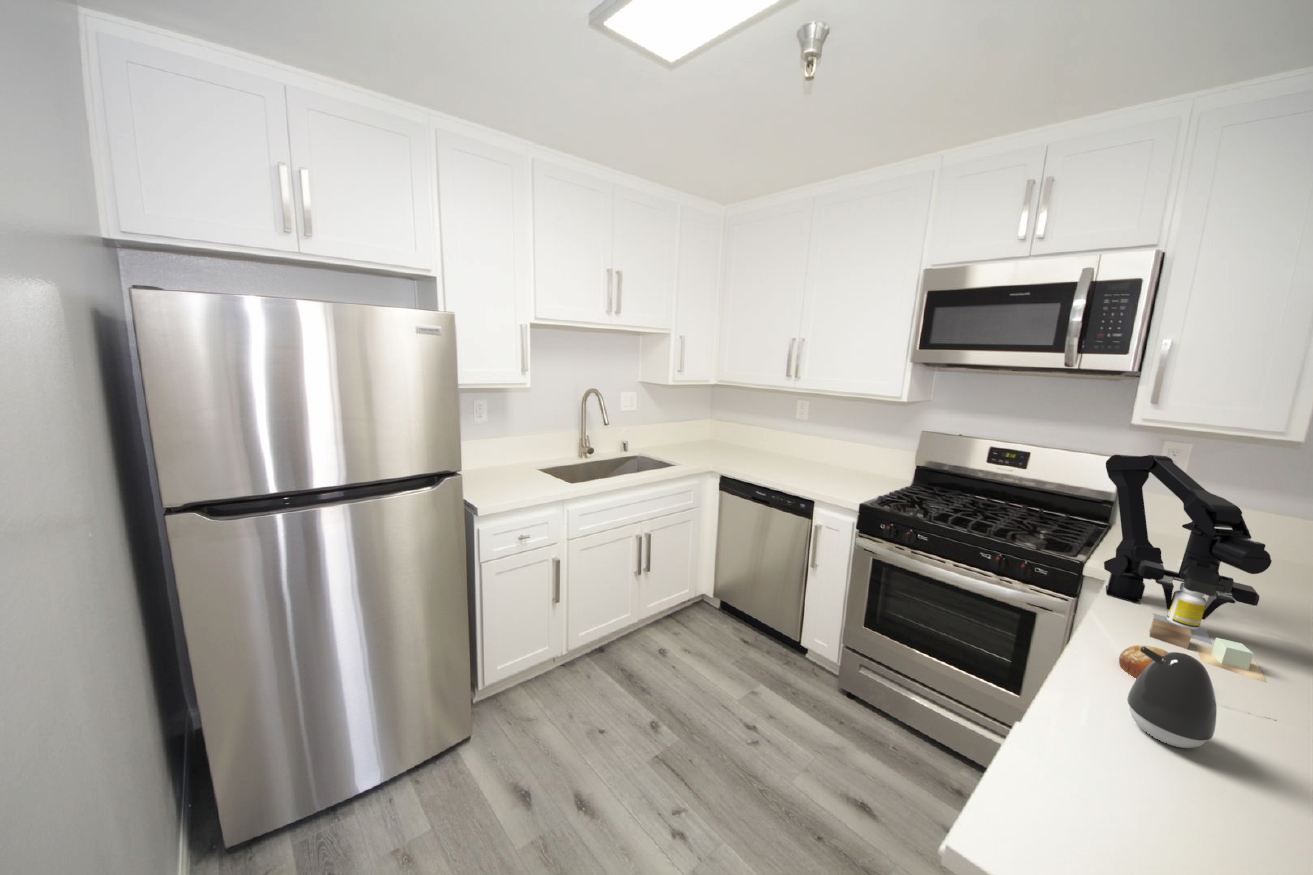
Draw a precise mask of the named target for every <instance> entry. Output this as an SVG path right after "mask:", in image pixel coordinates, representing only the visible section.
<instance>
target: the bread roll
mask: <svg viewBox="0 0 1313 875" xmlns="http://www.w3.org/2000/svg"><path fill="white" fill-rule="evenodd" d="M1141 647H1146V648H1148V649H1150V650H1151V651H1153V652H1155V653H1157V654H1159V655H1161V656H1162V655H1165V654H1167V653H1170V652H1169V651H1167V650H1164V649H1163V648H1159V647H1156V646H1150V645H1140V644H1139V645H1132V646H1129V647H1128V648H1125V649H1124V650H1123V651H1122V652H1120V654H1119V658H1118V662H1119V666H1120V669H1121V670H1122V669H1123V670H1124V672H1125V673H1126V672H1127V673H1128V674H1127V673H1126V674H1127V675H1129V674H1130V675H1131V676H1133V677H1134V678H1136V679H1137V678H1138V676H1139V675H1140V674H1141V672H1142V671H1143V670H1144V669H1145V668H1146V667H1147V666H1148V665H1149V664H1150V663H1152V662H1153V660H1152V659H1151V658H1149V657H1148V656H1146V655H1145V654H1144V653H1142V652H1141V651H1140V648H1141ZM1130 675H1129V676H1130ZM1131 676H1130V677H1131ZM1133 677H1132V678H1133ZM1134 678H1133V679H1134Z"/></svg>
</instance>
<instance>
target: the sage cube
mask: <svg viewBox="0 0 1313 875" xmlns="http://www.w3.org/2000/svg"><path fill="white" fill-rule="evenodd" d="M1212 645H1213V646H1212V648H1211V649H1212V652H1211V654H1212V655H1213V656H1214V657H1215V658H1216V659H1217V660H1218V661H1219V662H1220V663H1221V664H1223V665H1227V666H1231V667H1235V668H1239V669H1243V670H1248V669H1249V666H1250V663H1251V661H1253V658H1254V652H1252V650H1250V649H1249V648H1248V647H1246V645H1244V644H1243V643H1241V642H1237V641H1232V640H1228V639H1224V638H1220V637H1215V639H1214V642H1213V644H1212Z"/></svg>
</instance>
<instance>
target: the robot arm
mask: <svg viewBox="0 0 1313 875" xmlns="http://www.w3.org/2000/svg"><path fill="white" fill-rule="evenodd" d="M1105 469H1106V472H1107V476H1108V479H1110V481H1111V482H1112V483H1113V485H1114V486H1115V487H1116V492H1117V498H1118V499H1117V500H1118V508H1119V509H1118V510H1119V517H1120V526H1121V527H1120V528H1121V536H1122V538H1121V539H1122V540H1121V541H1120V542H1119V544H1118V546H1117V547H1116V548H1115V556H1114V557H1112V558H1109V559H1107V560H1105V561H1104V562H1103V569H1104V571H1106V572H1108V573H1109V577H1108V581H1107V585H1105V594H1106V595H1108V596H1112V597H1115V598H1118V599H1120V600H1121V599H1122V600H1125V601H1127V602H1132V603H1135V604H1140V601H1142V599H1143V595H1144V592H1145V589H1146V588H1145V587H1146V585H1145V582H1144V580H1151V581H1152V580H1154V581H1155V583H1156V584H1158V585H1161V587H1162V590H1163V595H1164V601H1165V608H1166V610H1169V609H1170V606H1171V601H1172V597H1173V592H1174V588H1175V587H1174V584H1173V583H1174V582H1173V581H1177V582H1181V583H1184V587H1185V588H1186V589H1187V590H1189V591H1196V592H1199V593H1203V594H1204V595H1206V596H1208V598H1207V600H1206V607H1205V610H1204V613H1203V616H1202V620H1201V621H1205V620H1206V619H1207V618H1208V617H1209V616H1210V615H1211V614H1213V612H1215V610H1217V609H1218V608H1219V607H1221V606H1223V605H1224V604H1228V603H1229V604H1235V603H1236V602H1239V603H1242V604H1247V605H1249V606H1254V607H1255V606H1256V607H1257V606H1258V603H1259V601H1260V595H1259V593H1258V592H1257V591H1256V589H1255V588H1254V587H1253V586H1251V585H1249V584H1243V583H1239V582H1235V581H1234V578H1232V577H1229V576H1224V575H1220V572H1219V570H1220V566H1221V563H1224V564H1226V565H1228V566H1231V567H1233V568H1235V569H1238V570H1240V571H1243V572H1245V573H1247V574H1249V575H1259V574H1262V573H1264V572H1265V571H1266V570H1268V569H1269V567H1270V566H1271V565H1272V562H1273V561H1272V559H1271V555H1270V554H1271V553H1269V552H1268V550H1266V549H1265V548H1266V544H1265V543H1263V542H1260V541H1254V540H1251V539H1252V535H1251V533H1250V529H1248V526H1247V524H1246V522H1245V518H1244V517H1243V511H1242V509H1241V508H1240V507H1239V506H1238V505H1236V504H1235V503H1232V502H1231V501H1229V500H1227V498H1224V497H1222V496H1219V495H1217V494H1213V493H1211V492H1209V491H1208V490H1206V489H1205V488H1204V487H1203V486H1201V484H1199V483H1198V482H1197V481H1195V480H1194V479H1193V478H1192V477H1191V476H1190V475H1188V473H1186V472H1185V471H1184V470H1183V469H1181V468H1180V467H1179V466H1178V465H1177V464H1176V463H1174V460H1173V459H1172V458H1171V457H1169V456H1167V455H1158V454H1157V455H1156V454H1148V455H1147V454H1146V455H1140V456H1139V455H1128V454H1127V455H1125V454H1113V455H1111V456H1110V457H1109V458H1108V459H1107V460H1106V461H1105ZM1150 473H1151V474H1152V476H1154V477H1155V478H1156V479H1157V480H1158V481H1160V483H1161V484H1163V485H1164V486H1165V487H1166V488H1167V489H1168V490H1169V491H1170V492H1171V493H1173V495H1175V496H1176V497H1177V498H1178V499H1180V501H1181V502H1182V504H1183V511H1184V513H1186V515H1187V516H1188V518H1189V519H1190V520H1191V522H1188V523H1185V524H1184V523H1183V524H1182V525H1181V527H1182V528H1183V529H1186V530H1188V531H1190V534H1189V536H1188V539H1187V540H1188V541H1187V543H1186V547H1185V550H1184V554H1183V556H1182V561H1181V564H1180V566H1179V570H1178V572H1177V571H1173V570H1168V569H1165V567H1164V561H1163V559H1162V558H1163V557H1162V549H1161V548H1160V547H1157V546H1155V547H1154V546H1153V544H1152V543H1151V542H1150V540H1149V535H1148V534H1149V533H1148V526H1147V525H1148V524H1147V518H1146V517H1147V516H1146V509H1145V502H1144V492H1143V487H1144V485H1145V484H1146V482H1147V480H1148V479H1149V478H1150Z"/></svg>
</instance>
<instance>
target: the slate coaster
mask: <svg viewBox="0 0 1313 875" xmlns="http://www.w3.org/2000/svg"><path fill="white" fill-rule="evenodd" d="M1152 615H1153V618H1155V619H1158V620H1161V621H1164V622H1168V623H1171V624H1173V623H1172V622H1170V621H1169V620H1167V616H1164V615H1161V614H1157V613H1152ZM1174 625H1176V624H1174ZM1177 626H1178V625H1177ZM1180 627H1181V626H1180ZM1187 629H1188V628H1187ZM1190 630H1191V639H1193V640H1197V641H1200V642H1204V643H1207V644H1210V645H1213V643H1212V640H1211V638H1210V636H1209V634H1208V631H1207V629H1206V628H1205V627H1202V626H1199V628H1198V629H1190Z"/></svg>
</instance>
